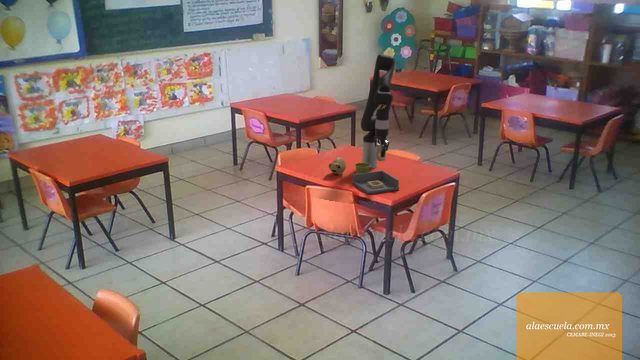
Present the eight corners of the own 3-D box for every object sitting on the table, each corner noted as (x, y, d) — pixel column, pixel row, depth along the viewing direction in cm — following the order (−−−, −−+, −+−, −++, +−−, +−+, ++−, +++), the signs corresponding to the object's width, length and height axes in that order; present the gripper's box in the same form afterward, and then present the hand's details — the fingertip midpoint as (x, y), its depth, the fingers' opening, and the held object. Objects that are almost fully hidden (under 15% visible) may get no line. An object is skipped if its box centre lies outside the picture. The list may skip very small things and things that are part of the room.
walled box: (352, 184, 355) (352, 174, 353) (382, 179, 363) (382, 170, 361) (368, 194, 338) (368, 184, 336) (399, 190, 346) (399, 180, 344)
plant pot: (351, 178, 365) (351, 164, 362) (361, 174, 371) (362, 161, 369) (362, 182, 359) (363, 168, 356) (373, 178, 365) (373, 164, 362)
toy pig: (325, 176, 369) (325, 159, 366) (333, 170, 379) (333, 154, 376) (340, 178, 365) (340, 161, 362) (348, 172, 375) (348, 156, 372)
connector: (376, 159, 346) (376, 144, 343) (382, 158, 348) (382, 143, 345) (379, 161, 343) (380, 146, 340) (385, 160, 344) (386, 145, 341)
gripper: (394, 129, 334) (392, 158, 340) (381, 123, 346) (380, 152, 352) (382, 130, 331) (381, 160, 337) (370, 124, 343) (369, 153, 349)
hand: (380, 155), depth 344 cm, fingers closed on connector, 4 cm apart
